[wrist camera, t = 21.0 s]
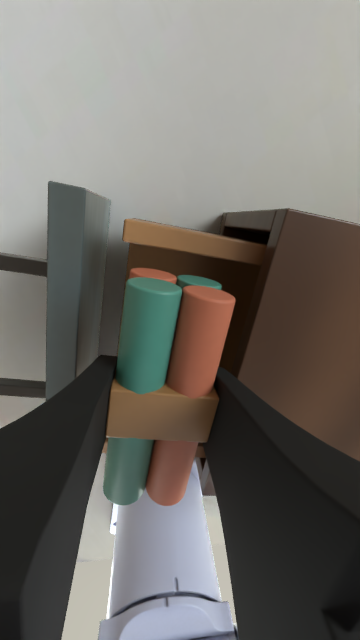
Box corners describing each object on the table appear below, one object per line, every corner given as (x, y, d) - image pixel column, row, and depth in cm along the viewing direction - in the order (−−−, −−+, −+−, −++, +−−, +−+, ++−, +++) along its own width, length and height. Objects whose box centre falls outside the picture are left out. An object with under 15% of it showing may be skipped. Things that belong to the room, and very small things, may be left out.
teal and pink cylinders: (129, 264, 10) (120, 285, 7) (217, 279, 10) (246, 304, 7) (109, 436, 12) (97, 506, 9) (180, 440, 13) (189, 507, 10)
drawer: (0, 381, 18) (-73, 462, 12) (-12, 175, 14) (-133, 143, 8) (244, 401, 21) (282, 474, 15) (297, 237, 16) (379, 248, 11)
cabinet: (182, 395, 21) (202, 495, 13) (223, 212, 16) (287, 208, 9) (334, 408, 23) (424, 500, 16) (407, 250, 19) (584, 273, 11)
